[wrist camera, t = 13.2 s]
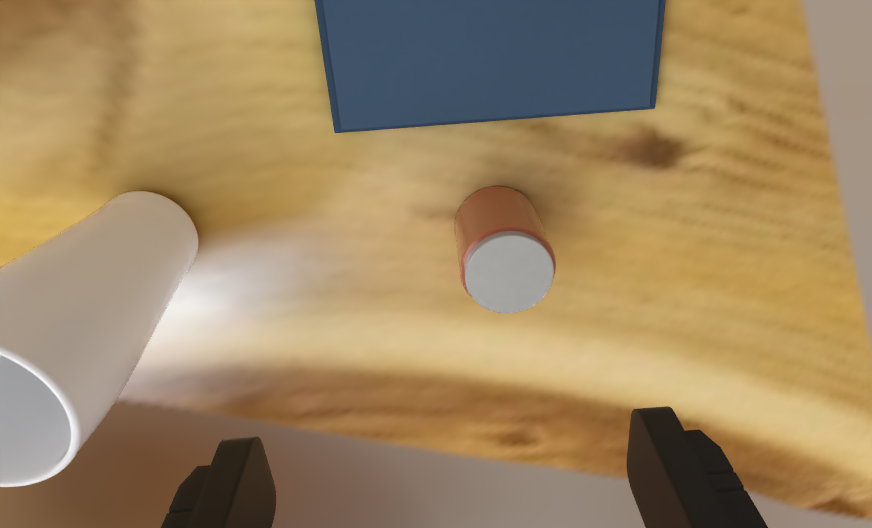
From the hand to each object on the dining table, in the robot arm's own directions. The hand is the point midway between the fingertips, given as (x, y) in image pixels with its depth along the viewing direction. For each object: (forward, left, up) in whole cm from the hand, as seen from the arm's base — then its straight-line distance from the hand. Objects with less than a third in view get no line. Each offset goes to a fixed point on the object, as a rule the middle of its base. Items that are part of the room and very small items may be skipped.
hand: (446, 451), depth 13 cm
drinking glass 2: (+3, -16, -21) cm, 27 cm away
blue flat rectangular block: (-6, +3, -21) cm, 22 cm away
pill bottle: (+4, +3, -21) cm, 22 cm away
